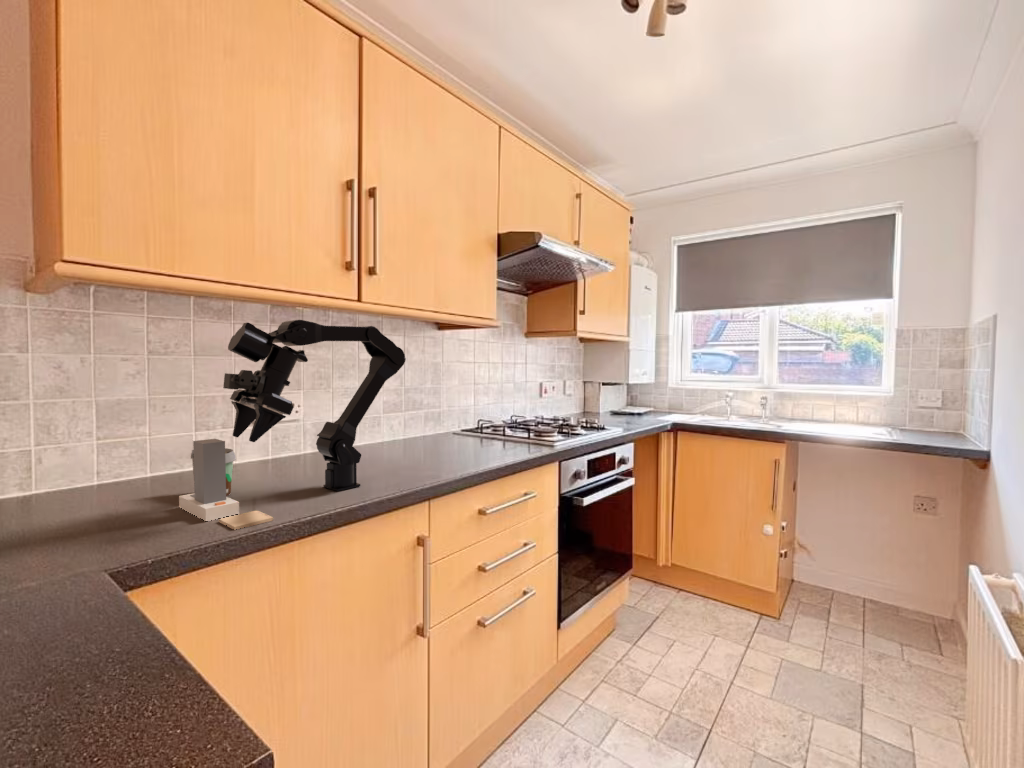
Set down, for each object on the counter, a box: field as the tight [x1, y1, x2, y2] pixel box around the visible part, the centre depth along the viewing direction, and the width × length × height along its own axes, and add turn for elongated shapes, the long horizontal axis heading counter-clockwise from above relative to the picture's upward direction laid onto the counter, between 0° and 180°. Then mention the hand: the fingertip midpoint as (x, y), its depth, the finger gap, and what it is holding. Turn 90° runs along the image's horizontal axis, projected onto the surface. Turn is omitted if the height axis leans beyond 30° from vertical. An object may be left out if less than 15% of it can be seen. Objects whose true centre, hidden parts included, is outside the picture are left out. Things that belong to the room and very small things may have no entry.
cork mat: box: [218, 510, 274, 531], centre depth 93 cm, size 7×7×1 cm
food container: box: [190, 447, 237, 497], centre depth 113 cm, size 12×6×10 cm, turn 59°
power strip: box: [178, 492, 240, 522], centre depth 101 cm, size 6×19×3 cm, turn 52°
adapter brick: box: [192, 438, 227, 504], centre depth 99 cm, size 4×5×12 cm
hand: (243, 439), depth 102 cm, fingers open, 9 cm apart
